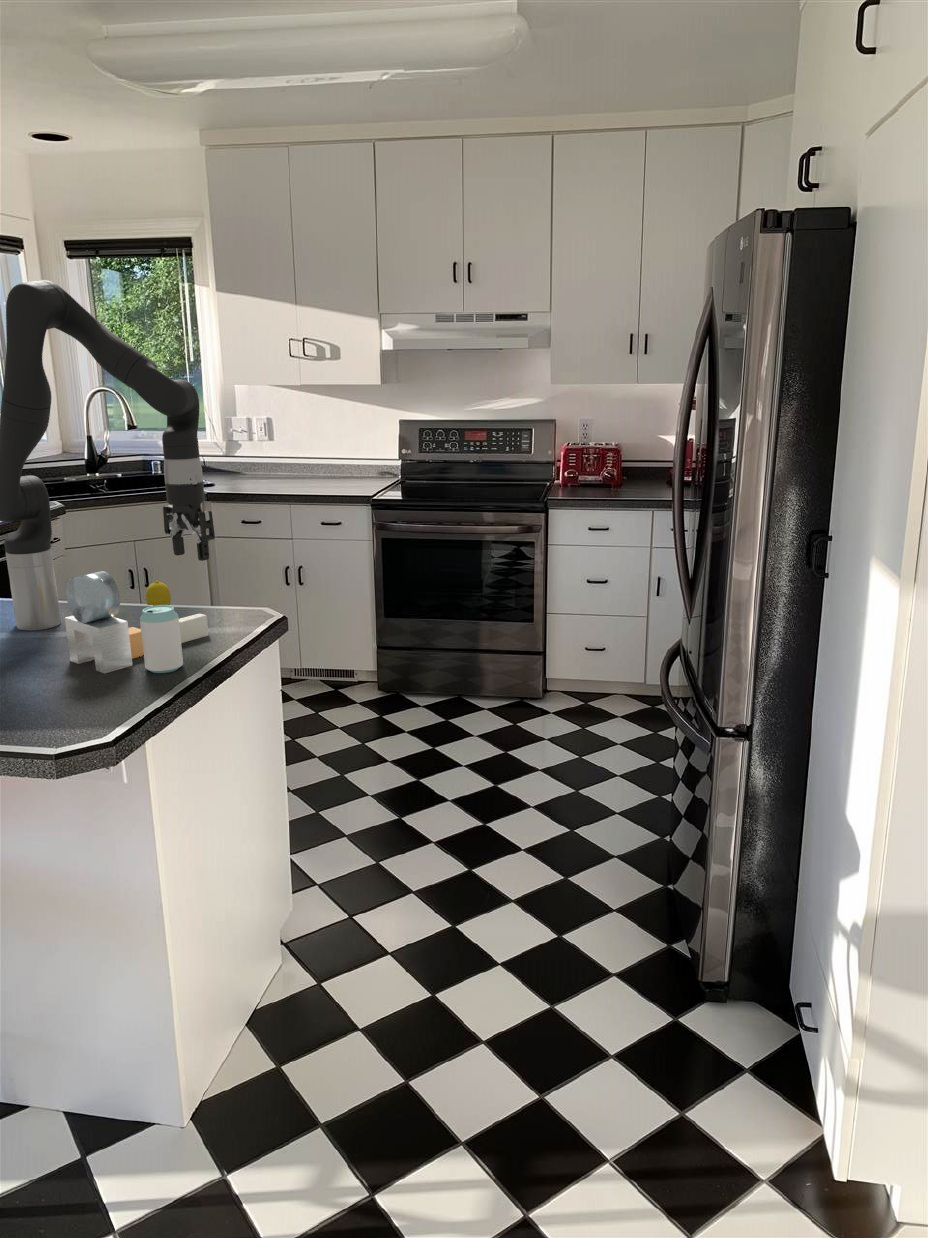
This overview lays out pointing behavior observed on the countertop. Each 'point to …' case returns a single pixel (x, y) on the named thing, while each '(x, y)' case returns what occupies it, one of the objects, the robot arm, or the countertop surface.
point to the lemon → (158, 594)
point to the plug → (189, 631)
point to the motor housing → (96, 623)
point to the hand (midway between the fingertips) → (191, 557)
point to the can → (161, 639)
